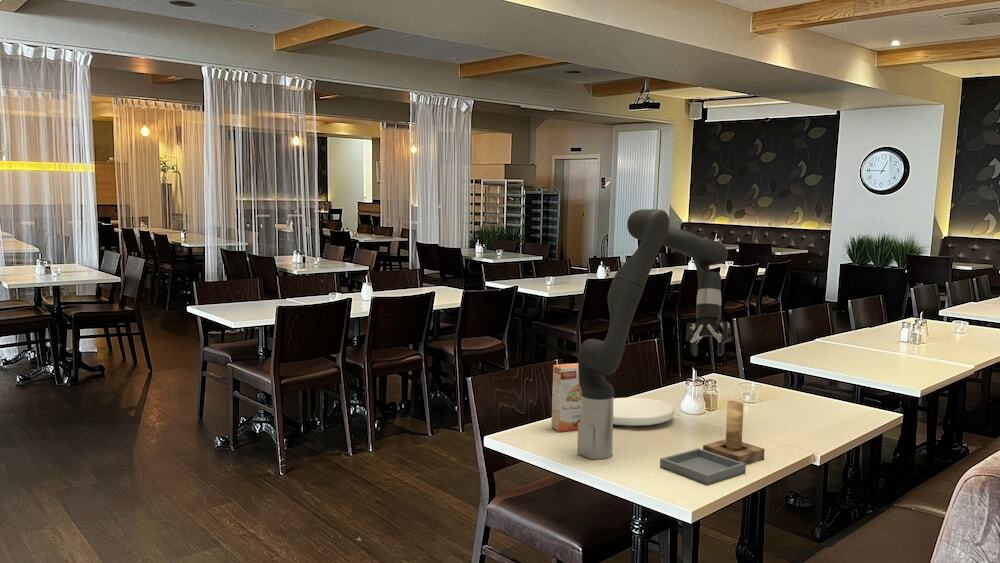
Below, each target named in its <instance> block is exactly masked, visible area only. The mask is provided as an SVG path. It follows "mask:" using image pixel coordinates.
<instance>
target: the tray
mask: <svg viewBox="0 0 1000 563" xmlns="http://www.w3.org/2000/svg"><path fill="white" fill-rule="evenodd" d="M659 468H660V469H663V470H666V471H668V472H671V473H674V474H676V475H678V476H682V477H684V478H687V479H689V480H692V481H695V482H698V483H701V484H703V485H705V486H709V485H712V484H715V483H719V482H722V481H725V480H728V479H730V478H731V479H732V478H733V477H737V476H740V475H743V474H746V472H747V471H746V470H747V465H746V464H745V463H742V462H739V461H736V460H733V459H730V458H727V457H724V456H721V455H718V454H715V453H712V452H709V451H706V450H703V448H699V447H697V448H694V449H690V450H686V451H682V452H680V453H676V454H672V455H668V456H665V457H662V458H659Z"/></svg>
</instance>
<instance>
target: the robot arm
mask: <svg viewBox="0 0 1000 563" xmlns="http://www.w3.org/2000/svg"><path fill="white" fill-rule="evenodd" d="M626 226H627V230H628V233H629V235H630V236H631V237H632V238H634V239H636V240H638V241H640V243H639V245H638V247H637V248H636V250H635V251H634V253H633V254H632V255H631V256H630V257H629V258H628V259H627V260H626V261H625V262H624V263H623V264H622V265H621V266H620V268H619V269H618V270H616V273H615V274H614V277H613V279H612V281H611V284H610V287H609V290H608V293H607V306H608V312H609V326H608V329H607V330H608V331H607V333H606V336H605V338H604V340H600V339H596V338H589V339H586V340H584V341H583V343H581V346H580V348H579V351H578V358H577V361H578V362H577V363H578V369H579V385H580V388H581V421H580V422H578V430H577V454H578V455H580V456H581V457H584V458H588V459H590V460H603V459H608V458H610V457H612V456H613V439H614V438H613V437H614V436H613V434H614V424H613V404H614V398H615V395H614V394H615V392H614V391H615V389H614V387H613V385H612V384H611V383H610V382H609V381H608V380H607V379H606V377H605V375H607V376H609V375H610V376H611V375H612V374H614V373H615V372H616V371H617V370H618V368H619V366H620V363H621V360H622V358H623V354H624V351H625V348H626V347H625V346H626V342H627V340H628V336H629V335H628V334H629V331H630V329H631V325H632V322H633V319H634V316H635V313H636V310H637V308H638V305H639V303H640V301H641V298H642V295H643V293H644V289H645V286H646V283H647V280H648V278H649V276H650V273H651V270H652V268H653V265H654V263H655V260H656V259H657V258H656V257H657V256H658V255H659V254H658V253H660V250H661V248H662V246H664V247H666V248H668V249H670V250H673V251H676V252H678V253H680V254H682V255H684V256H686V257H688V258H692V259H693V261H694V265H695V268H696V269H695V270H696V274H697V278H698V280H697V281H698V282H697V295H696V309H695V311H696V312H695V319H696V322H695V323H691V322H687V323H686V330H685V338H684V340H685V341H686V342H689V343H690V353H691V355H692V356H693V357H695V356H697V357H698V348H699V347H698V346H699V345H698V343H699V342H700V340H702V339H703V338H707V337H711V338H712V337H714V338H715V339H716V341H717V345H716V348H717V349H716V354H717V355H716V356H719V357H721V356H723V355H724V354H725V343H729V342H731V340H732V338H731V323H730V322H728V321H726V320H724V321H723V322H722V321H721V319H722V317H721V316H722V314H721V313H722V290H721V289H722V277H721V276H722V275H721V274H720V273H719V272H716V271H711V268H710V266H715V265H721V264H723V263H725V262H726V260H727V259H728V256H729V252H728V248H727V246H725V244H723V243H722V242H720V241H717V240H714V239H710V238H703V237H700V236H699V235H697V234H694V233H692V232H690V231H687V230H684V229H681V228H676V227H672V226H670V216H669V215H668V213H667V211H665V210H663V209H659V208H658V209H657V208H655V209H653V208H651V209H650V208H649V209H638V210H635V211H633V212H631V214H629V216H628V219H627V222H626ZM721 328H722V330H723V331H722V332H723V334H722V333H721V332H720V331H719V330H720V329H721ZM694 331H695V332H694Z"/></svg>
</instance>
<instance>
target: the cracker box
mask: <svg viewBox="0 0 1000 563" xmlns="http://www.w3.org/2000/svg"><path fill="white" fill-rule="evenodd" d="M551 391H552V396H551V397H552V398H551V428H552V429H554V430H555V431H557V432H559V433H560V432H561V433H562V432H570V431H578V422H580V421H581V388H580V385H579V369H578V362H576V363H562V364H561V363H560V364H553V366H552V390H551Z"/></svg>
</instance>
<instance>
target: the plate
mask: <svg viewBox="0 0 1000 563" xmlns="http://www.w3.org/2000/svg"><path fill="white" fill-rule="evenodd" d="M674 409H675V408H674V406H673V404H670V403H668V402H666V401H662V400H658V399H652V398H643V397H642V398H641V397H616V398H615V397H614V404H613V425H618V426H631V427H634V426H652V425H658V424H662V423H665V422H668V421H670V420H672V418H673V417H674V414H675V410H674Z"/></svg>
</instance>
